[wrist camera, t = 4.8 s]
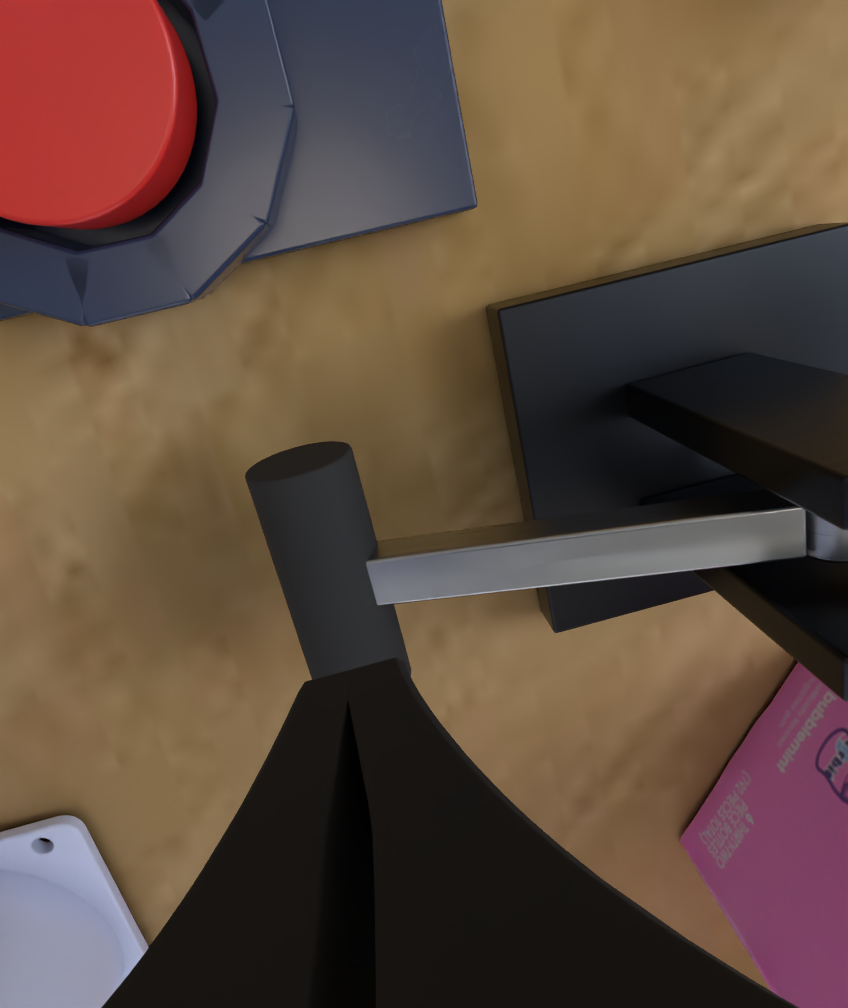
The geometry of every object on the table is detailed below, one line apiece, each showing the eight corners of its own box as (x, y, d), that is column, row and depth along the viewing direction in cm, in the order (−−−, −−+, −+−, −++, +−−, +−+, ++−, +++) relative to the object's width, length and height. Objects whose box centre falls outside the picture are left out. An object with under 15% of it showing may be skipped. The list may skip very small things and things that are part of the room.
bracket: (540, 612, 19) (695, 863, 11) (484, 305, 16) (640, 355, 8) (824, 535, 19) (1166, 726, 11) (820, 223, 16) (1272, 196, 8)
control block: (7, 343, 15) (-67, 364, 12) (-164, -53, 12) (-309, -145, 9) (471, 232, 15) (505, 228, 12) (397, -168, 13) (419, -288, 10)
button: (-4, 254, 12) (-57, 254, 10) (-122, -28, 10) (-206, -81, 9) (230, 199, 12) (216, 191, 10) (147, -84, 11) (115, -146, 9)
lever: (333, 658, 16) (305, 718, 14) (268, 450, 14) (226, 487, 12) (853, 609, 13) (901, 672, 12) (853, 350, 12) (911, 377, 10)
